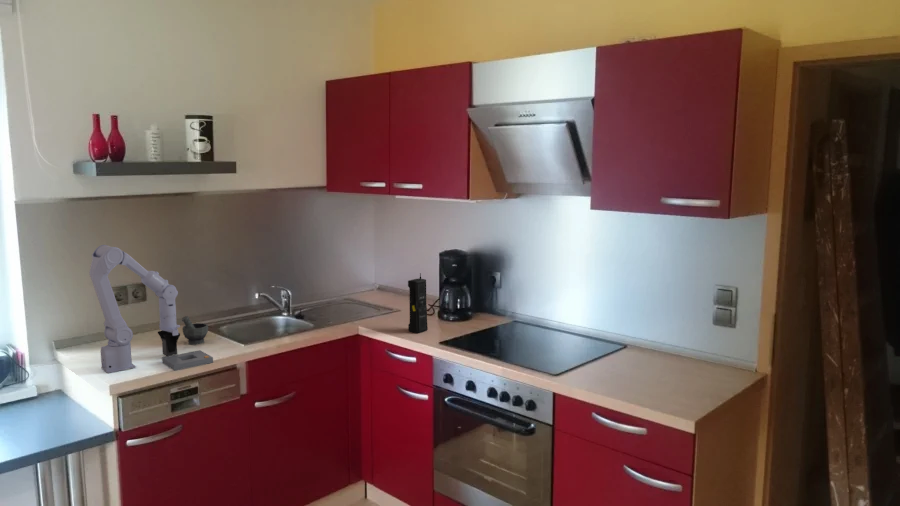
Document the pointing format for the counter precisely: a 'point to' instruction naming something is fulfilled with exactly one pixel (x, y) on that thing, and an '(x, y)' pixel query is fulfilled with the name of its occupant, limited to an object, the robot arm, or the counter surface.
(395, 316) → the counter surface
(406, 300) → the counter surface
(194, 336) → the mortar and pestle
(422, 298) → the portable radio
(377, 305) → the counter surface
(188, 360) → the plate
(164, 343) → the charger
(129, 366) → the robot arm
